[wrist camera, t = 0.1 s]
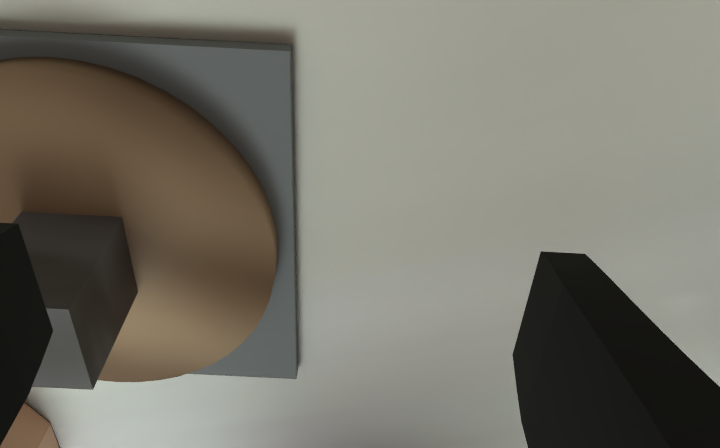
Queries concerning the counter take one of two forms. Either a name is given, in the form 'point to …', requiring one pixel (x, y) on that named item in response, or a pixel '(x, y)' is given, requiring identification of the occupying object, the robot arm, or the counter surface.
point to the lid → (130, 223)
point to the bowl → (30, 431)
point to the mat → (238, 124)
